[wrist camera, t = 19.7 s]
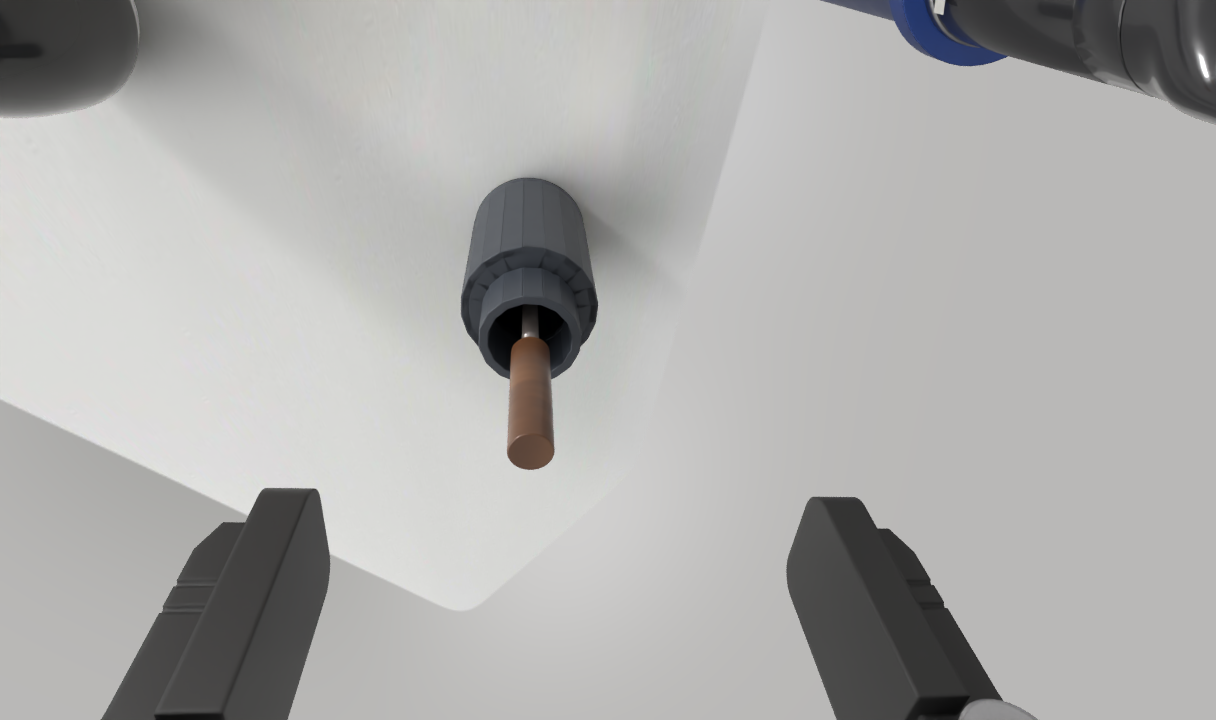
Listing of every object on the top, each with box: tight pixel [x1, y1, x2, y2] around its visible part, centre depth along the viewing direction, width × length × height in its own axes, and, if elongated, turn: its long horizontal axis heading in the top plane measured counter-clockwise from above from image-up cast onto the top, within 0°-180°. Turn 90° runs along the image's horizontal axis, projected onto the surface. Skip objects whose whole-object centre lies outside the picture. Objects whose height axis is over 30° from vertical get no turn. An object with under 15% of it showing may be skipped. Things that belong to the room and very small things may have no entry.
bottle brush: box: [507, 304, 554, 470], centre depth 39 cm, size 3×3×24 cm
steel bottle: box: [461, 178, 598, 379], centre depth 43 cm, size 8×8×16 cm
